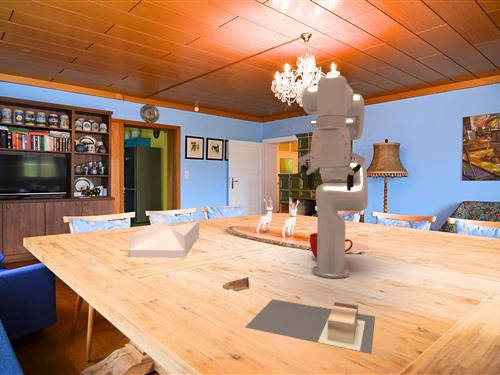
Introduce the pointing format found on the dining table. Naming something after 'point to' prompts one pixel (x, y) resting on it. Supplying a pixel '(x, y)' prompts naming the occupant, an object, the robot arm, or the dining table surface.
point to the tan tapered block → (343, 322)
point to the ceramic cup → (314, 244)
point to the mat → (310, 324)
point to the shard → (237, 284)
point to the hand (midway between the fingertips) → (330, 190)
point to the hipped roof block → (164, 240)
